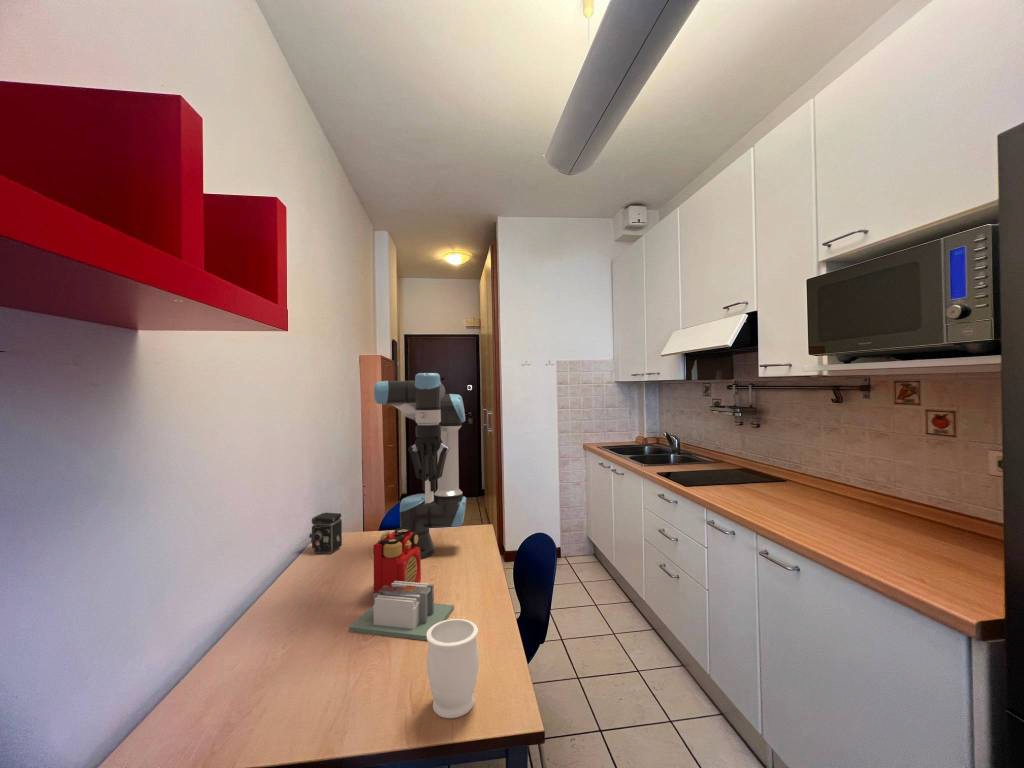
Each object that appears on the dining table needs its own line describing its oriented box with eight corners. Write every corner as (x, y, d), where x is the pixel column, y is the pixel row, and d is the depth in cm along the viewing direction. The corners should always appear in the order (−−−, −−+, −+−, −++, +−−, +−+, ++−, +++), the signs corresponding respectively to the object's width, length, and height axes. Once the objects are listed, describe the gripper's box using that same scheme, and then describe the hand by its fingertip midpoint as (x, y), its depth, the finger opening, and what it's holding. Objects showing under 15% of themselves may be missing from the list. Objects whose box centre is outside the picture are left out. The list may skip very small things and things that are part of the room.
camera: (320, 546, 185) (320, 511, 185) (343, 547, 184) (343, 511, 184) (305, 555, 175) (305, 518, 175) (330, 556, 173) (329, 518, 174)
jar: (434, 730, 82) (433, 650, 82) (422, 696, 91) (421, 624, 91) (486, 713, 86) (485, 637, 86) (470, 682, 95) (469, 613, 96)
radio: (402, 604, 131) (401, 539, 132) (372, 602, 134) (371, 537, 134) (422, 582, 147) (422, 523, 148) (395, 580, 149) (395, 522, 150)
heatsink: (348, 631, 117) (348, 596, 117) (381, 602, 133) (381, 571, 134) (430, 641, 111) (430, 604, 112) (454, 609, 128) (453, 577, 128)
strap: (376, 597, 123) (376, 590, 123) (382, 592, 126) (382, 584, 126) (426, 598, 119) (425, 590, 119) (431, 593, 123) (430, 585, 123)
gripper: (402, 424, 128) (403, 504, 127) (443, 425, 125) (444, 506, 124) (414, 422, 135) (415, 497, 135) (453, 422, 132) (454, 499, 132)
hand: (429, 501), depth 130 cm, fingers closed
